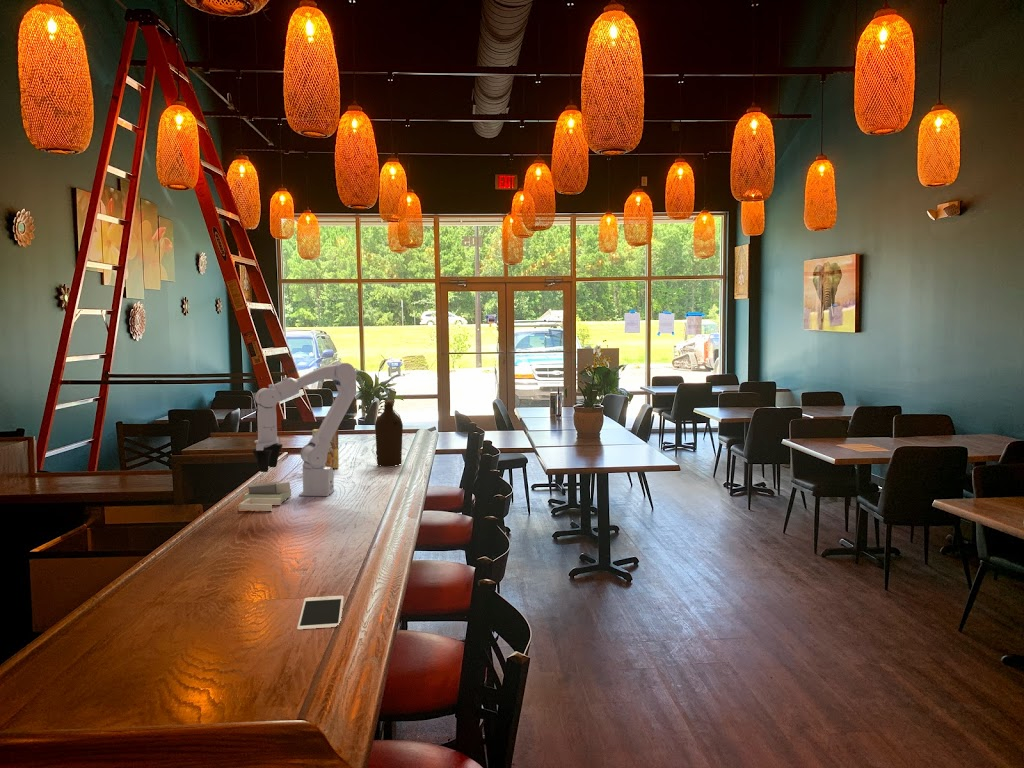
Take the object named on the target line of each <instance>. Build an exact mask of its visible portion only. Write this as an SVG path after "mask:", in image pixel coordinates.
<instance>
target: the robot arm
mask: <svg viewBox="0 0 1024 768" xmlns="http://www.w3.org/2000/svg"><path fill="white" fill-rule="evenodd" d="M357 378H358V374H357V372H356V370H355V367H354V366H353V365H352V364H351V363H348V362H342V361H334V362H332V363H328V364H325V365H322V366H320V367H319V368H316V369H314V370H312V371H310V372H308V373H306V374H304V375H302V376H300V377H298V378H293V377H287V376H286V377H283V378H282V380H281V381H279V382H277V383H274V384H273V383H270V384H268V388H267V387H263V388H260V389H259V390H258V391H257V392H256V393H255V396H254V401H255V402H256V405H257V412H256V414H257V420H256V421H257V439H256V440H254V441H253V442H254V444H255V449H252V453H253V455H254V457H255V459H256V462H257V464H258V468H259V471H260V473H268V471H269V468H277V465H278V461H279V455H280V452H281V450H282V448H283V443H280V441H279V440H280V439H279V438H280V437H279V436H278V425H277V424H278V422H277V418H278V417H277V405H278V402H279V403H280V402H282V401H285V400H288V399H289V398H291V397H294V396H296V395H298V394H299V393H300V390H301V389H302V388H305V387H307V386H310V385H312V384H314V383H317V382H320V381H322V380H330V381H331V380H332V381H333V383H334V385H335V387H336V389H337V395H336V397H335V399H334V401H333V402H332V404H331V406H330V408H329V409H328V411H327V412H326V413H327V414H326V415H325V417H324V418H323V421H322V422H321V424H320V426H319V428H318V429H319V430H318V431H317V433H316V435H315V436H314V437H313V438H312V437H311V438H310V440H309V441H308V443H307V444H305V445H304V446H303V447H302V448H301V450H300V458H301V460H302V461H303V464H302V491H301V492H300V493H298V496H299V497H302V496H303V497H328V496H330V495H331V494H332V493H333V492H335V487H334V486H335V485H334V482H335V481H334V479H335V478H334V469H333V468H332V467H327V466H325V463H326V461H327V454H328V451H329V449H330V441H331V439H332V438H333V436H334V434H335V432H336V430H337V429H339V427H340V424H341V423H342V420H343V419H344V417H345V415H346V413H347V412H348V410H349V408H350V406H351V404H352V403H353V401H354V399H355V397H356V394H357ZM329 494H330V495H329Z"/></svg>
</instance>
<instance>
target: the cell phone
mask: <svg viewBox="0 0 1024 768" xmlns="http://www.w3.org/2000/svg"><path fill="white" fill-rule="evenodd" d="M344 598H345V596H344V595H332V596H331V595H329V596H327V595H326V596H314V597H312V596H311V597H305V598H304V600H303V603H302V608H301V611H300V615H299V619H298V623H297V627H296V630H297V631H304V630H303V629H309V630H317V629H316V628H325V629H332V628H331V627H336V626H337V625H339V623H340V621H341V622H342V618H343V617H342V616H343V609H342V608H343V607H344ZM341 617H342V618H341Z"/></svg>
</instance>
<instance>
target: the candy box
mask: <svg viewBox="0 0 1024 768" xmlns="http://www.w3.org/2000/svg"><path fill="white" fill-rule="evenodd" d="M318 430H319V428H317V429H316V428H314V429H312V433H311V435H312V437H311V439H312V438H313V437H314V436H315V435H316V433H317V431H318ZM339 455H340V454H339V428H337V430H336V432H335V434H334V436H333V438H332V439H331V441H330V449H329V451H328V454H327V461H326V463H325V466H327V467H332V468H337V469H339V463H340V461H339V460H340V459H339Z"/></svg>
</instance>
